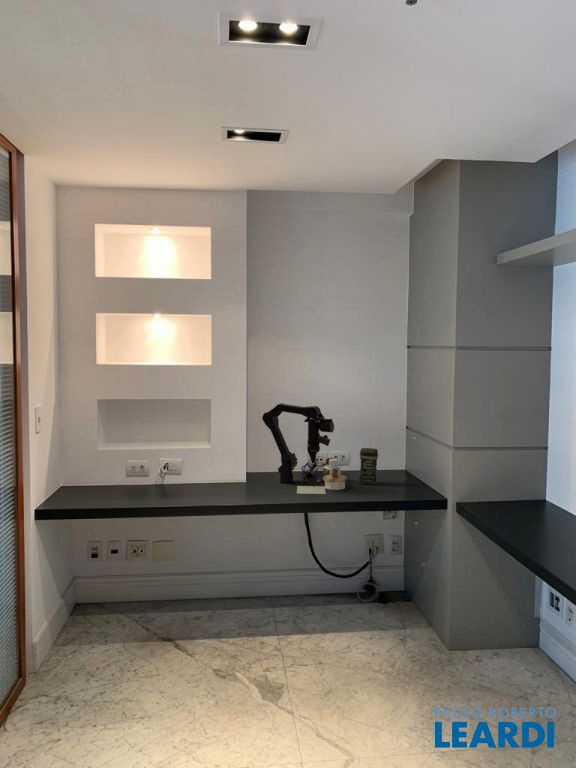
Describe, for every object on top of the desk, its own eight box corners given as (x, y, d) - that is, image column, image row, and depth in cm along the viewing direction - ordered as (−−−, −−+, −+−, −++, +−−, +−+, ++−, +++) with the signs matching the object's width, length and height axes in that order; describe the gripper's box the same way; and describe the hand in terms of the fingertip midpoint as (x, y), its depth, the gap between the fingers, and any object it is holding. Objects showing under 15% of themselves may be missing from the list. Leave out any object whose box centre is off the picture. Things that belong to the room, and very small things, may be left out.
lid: (323, 482, 286) (323, 471, 286) (322, 476, 298) (322, 466, 298) (347, 482, 286) (347, 472, 286) (346, 476, 298) (346, 466, 298)
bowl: (325, 490, 288) (325, 481, 287) (324, 485, 298) (324, 477, 297) (345, 490, 287) (345, 482, 287) (344, 485, 297) (344, 477, 297)
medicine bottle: (322, 479, 310) (322, 457, 309) (334, 478, 313) (334, 456, 312) (329, 482, 304) (329, 460, 303) (340, 481, 307) (341, 459, 306)
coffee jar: (358, 484, 300) (358, 449, 299) (360, 480, 308) (360, 446, 307) (376, 485, 298) (377, 450, 296) (378, 482, 305) (379, 447, 304)
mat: (296, 494, 280) (296, 493, 280) (297, 487, 294) (297, 486, 294) (325, 494, 280) (325, 493, 280) (324, 487, 294) (324, 486, 294)
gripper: (330, 434, 284) (329, 465, 285) (328, 428, 303) (328, 457, 304) (307, 434, 285) (307, 465, 286) (307, 428, 303) (307, 457, 304)
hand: (313, 461), depth 295 cm, fingers open, 9 cm apart
